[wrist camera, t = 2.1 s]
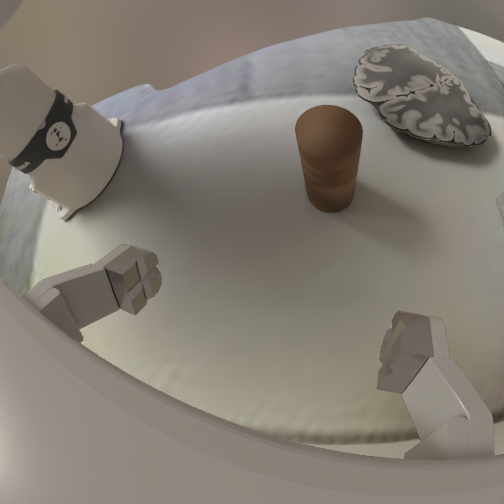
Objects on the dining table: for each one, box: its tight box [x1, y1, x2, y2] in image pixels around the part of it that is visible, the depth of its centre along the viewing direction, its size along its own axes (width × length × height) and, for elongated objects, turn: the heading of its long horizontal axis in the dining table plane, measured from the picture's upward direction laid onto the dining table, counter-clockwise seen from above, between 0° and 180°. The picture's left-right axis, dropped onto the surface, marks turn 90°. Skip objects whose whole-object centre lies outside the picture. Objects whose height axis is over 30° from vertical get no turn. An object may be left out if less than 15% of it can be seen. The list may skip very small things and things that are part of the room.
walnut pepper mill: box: [295, 105, 363, 212], centre depth 22 cm, size 5×5×10 cm
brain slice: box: [353, 45, 491, 148], centre depth 26 cm, size 20×17×3 cm
